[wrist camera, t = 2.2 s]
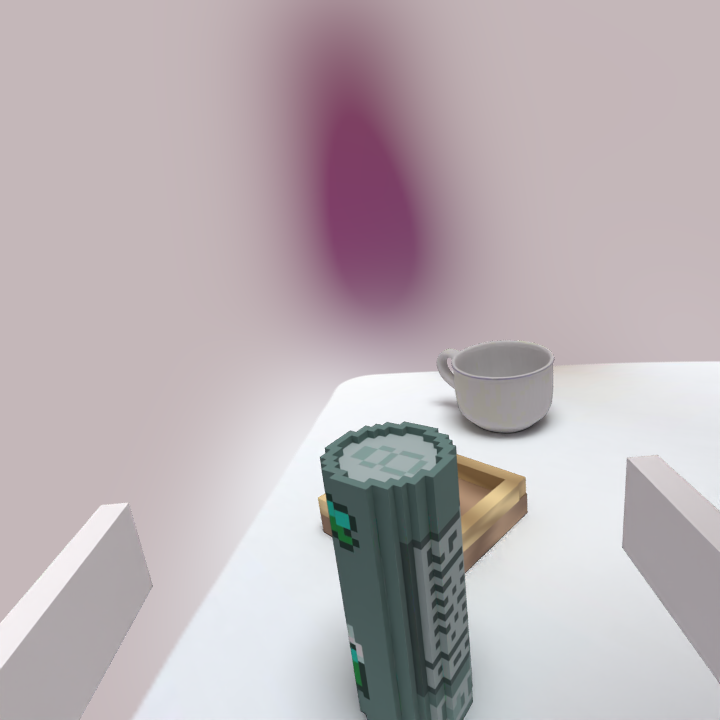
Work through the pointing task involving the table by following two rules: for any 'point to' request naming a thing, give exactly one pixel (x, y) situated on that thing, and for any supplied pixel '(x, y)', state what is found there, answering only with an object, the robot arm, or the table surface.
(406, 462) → the can
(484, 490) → the tray
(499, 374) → the teacup
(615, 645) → the table surface
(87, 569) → the robot arm
